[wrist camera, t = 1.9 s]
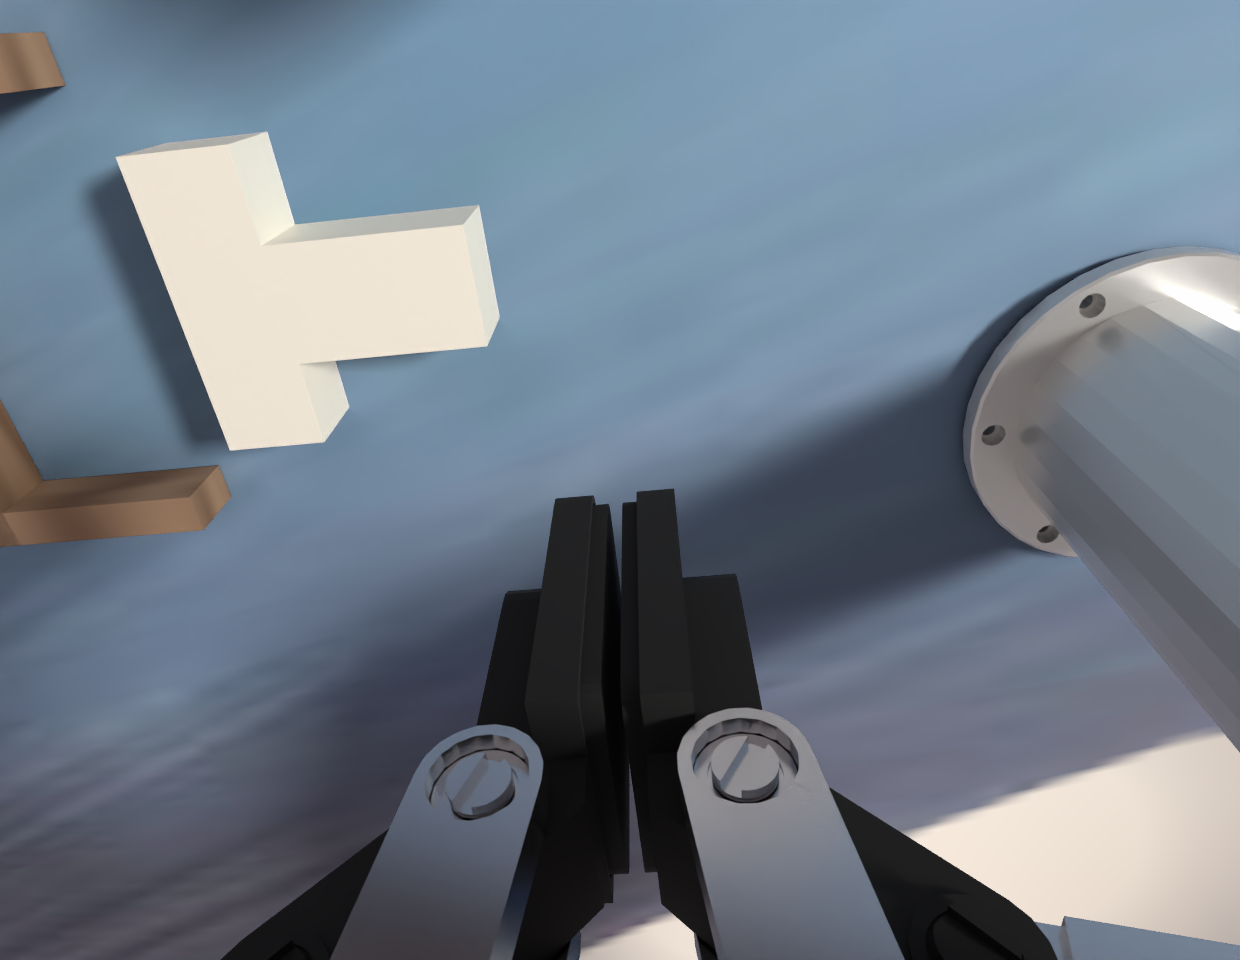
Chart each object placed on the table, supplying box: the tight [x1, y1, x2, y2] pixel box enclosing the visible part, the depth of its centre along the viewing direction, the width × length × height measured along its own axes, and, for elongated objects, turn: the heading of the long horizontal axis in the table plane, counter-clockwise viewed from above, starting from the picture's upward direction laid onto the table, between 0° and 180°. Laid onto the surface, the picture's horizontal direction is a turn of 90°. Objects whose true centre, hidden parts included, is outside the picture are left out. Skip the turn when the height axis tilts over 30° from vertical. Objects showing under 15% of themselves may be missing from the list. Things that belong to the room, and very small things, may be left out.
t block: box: [116, 132, 500, 450], centre depth 28 cm, size 10×10×3 cm
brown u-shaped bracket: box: [0, 32, 231, 547], centre depth 29 cm, size 9×17×2 cm, turn 6°
